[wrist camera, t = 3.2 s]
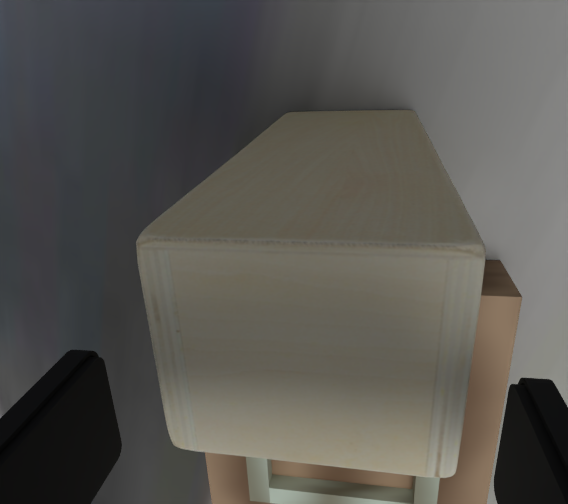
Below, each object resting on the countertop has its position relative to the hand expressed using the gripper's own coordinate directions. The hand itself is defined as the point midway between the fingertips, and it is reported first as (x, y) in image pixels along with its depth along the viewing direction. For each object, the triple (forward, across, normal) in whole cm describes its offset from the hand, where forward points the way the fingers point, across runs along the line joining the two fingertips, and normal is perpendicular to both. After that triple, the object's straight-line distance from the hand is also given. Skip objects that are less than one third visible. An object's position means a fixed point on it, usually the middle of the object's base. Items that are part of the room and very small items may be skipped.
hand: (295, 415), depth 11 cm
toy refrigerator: (+22, 0, -1) cm, 22 cm away
